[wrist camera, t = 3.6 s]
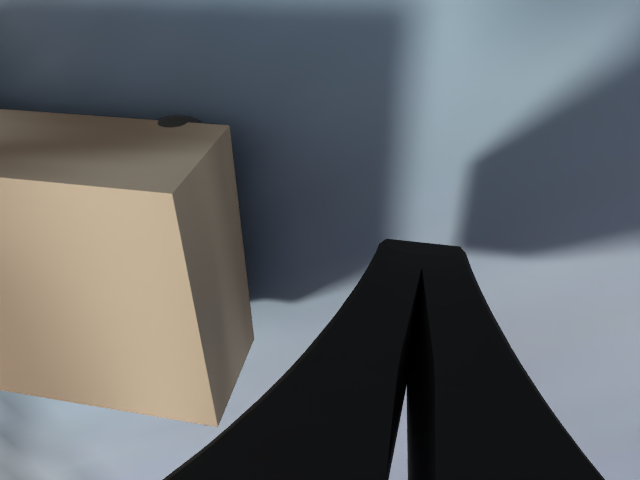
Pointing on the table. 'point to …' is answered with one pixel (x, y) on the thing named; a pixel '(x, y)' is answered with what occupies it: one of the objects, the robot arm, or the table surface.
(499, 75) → the table surface
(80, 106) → the table surface
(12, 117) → the tan block
